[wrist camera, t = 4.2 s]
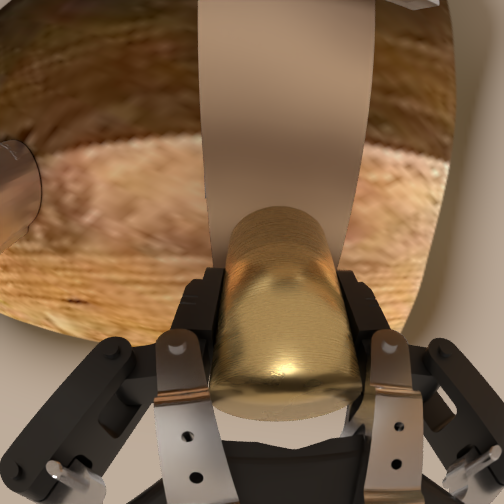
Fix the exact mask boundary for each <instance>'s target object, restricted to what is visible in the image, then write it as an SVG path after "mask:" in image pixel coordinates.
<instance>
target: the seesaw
mask: <svg viewBox="0 0 504 504" xmlns="http://www.w3.org/2000/svg"><path fill="white" fill-rule="evenodd" d="M386 1H389V2H392V3H395V4H398V5H401V6H404V7H406V8H409V9H412V10H417V9H422V8H428V7H433V6H439V0H386ZM374 39H375V0H198V61H199V91H200V113H201V131H202V147H203V161H204V174H205V187H206V198H207V209H208V220H209V230H210V240H211V249H212V258H213V267H214V268H225V266H226V259H227V253H228V246H229V240H230V236H231V234H232V231H233V230H234V228H235V226H236V225H237V224H238V223H239V222H240V221H241V220H242V219H243V218H244V217H246V216H247V215H248V214H250V213H252V212H254V211H256V210H259V209H262V208H266V207H271V206H288V207H293V208H297V209H299V210H302V211H304V212H306V213H308V214H309V215H311V216H312V217H313V218H314V219H316V220H317V221H318V223H319V224H320V225H321V227H322V229H323V231H324V233H325V236H326V239H327V243H328V246H329V249H330V253H331V256H332V260H333V263H334V267H335V270H337V267H338V263H339V259H340V256H341V252H342V248H343V244H344V240H345V236H346V232H347V228H348V223H349V219H350V215H351V210H352V205H353V201H354V196H355V191H356V186H357V181H358V176H359V170H360V165H361V159H362V153H363V147H364V141H365V134H366V127H367V120H368V112H369V103H370V94H371V84H372V72H373V58H374Z"/></svg>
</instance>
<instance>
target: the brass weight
mask: <svg viewBox="0 0 504 504" xmlns="http://www.w3.org/2000/svg"><path fill="white" fill-rule="evenodd" d="M208 389H209V393H210V398H211V402H212V405H213V406H214V407H216V408H217V409H219V410H220V411H222V412H225V413H227V414H230V415H233V416H236V417H240V418H245V419H251V420H259V421H294V420H302V419H308V418H313V417H318V416H322V415H325V414H328V413H331V412H334V411H336V410H339V409H341V408H343V407H345V406H347V405H349V404H350V403H351V402H353V401H355V400H356V399H357V398H358V397H359V395H360V394H361V392H362V382H361V376H360V371H359V366H358V361H357V356H356V351H355V347H354V342H353V337H352V333H351V329H350V324H349V320H348V316H347V312H346V308H345V304H344V300H343V296H342V292H341V288H340V285H339V281H338V277H337V274H336V270H335V267H334V263H333V260H332V256H331V253H330V249H329V246H328V243H327V239H326V236H325V233H324V231H323V229H322V227H321V225H320V224H319V223H318V221H317V220H316V219H314V218H313V217H312V216H311V215H309V214H308V213H306V212H304V211H302V210H299V209H297V208H293V207H288V206H271V207H266V208H262V209H259V210H256V211H254V212H252V213H250V214H248V215H247V216H246V217H244V218H243V219H242V220H241V221H240V222H239V223H238V224H237V225H236V226H235V228H234V230H233V231H232V234H231V236H230V240H229V246H228V253H227V259H226V266H225V272H224V279H223V286H222V292H221V299H220V306H219V313H218V320H217V327H216V335H215V342H214V349H213V357H212V364H211V372H210V381H209V388H208Z"/></svg>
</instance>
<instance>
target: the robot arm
mask: <svg viewBox="0 0 504 504" xmlns="http://www.w3.org/2000/svg"><path fill="white" fill-rule="evenodd" d="M40 201H41V184H40V177H39V172H38V168H37V165H36V163H35V160H34V158H33V156H32V154H31V152H30V151H29V150H28V148H27V147H26V146H25V145H24V144H23V143H21V142H20V141H17V140H8V141H5V142H2V143H0V254H1V253H3V252H4V251H5V250H6V249H7V248H9V247H10V246H11V245H12V244H14V243H15V242H16V241H17V240H19V239H20V238H21V237H22V236H24V235H25V234H26V233H27V232H28V225H29V224H30V223H31V222H32V221H33V220H34V219H35V217H36V216H37V214H38V210H39V207H40ZM224 272H225V268H210V267H207V268H206V271H205V274H204V277H203V279H193V280H192V281H191V282H190V283H189V284H188V285H187V286H186V288H185V290H184V293H183V297H182V298H181V301H180V304H179V306H178V309H177V312H176V315H175V317H174V320H173V323H172V326H171V329H170V330H168V331H166V332H164V333H163V334H162V335H160V336H159V338H158V339H157V341H156V343H154V344H151V345H146V346H138V347H131V344H130V343H129V341H127V340H126V339H124V338H122V337H110V338H107V339H104V340H102V341H101V342H100V343H99V344H98V345H97V346H96V347H95V348H94V349H93V350H92V351H91V352H90V353H89V354H88V355H87V356H86V358H85V359H84V360H83V361H82V362H81V363H80V364H79V365H78V366H77V367H76V369H75V370H74V371H73V372H72V373H71V374H70V375H69V376H68V377H67V379H66V380H65V381H64V382H63V383H62V384H61V385H60V386H59V388H58V389H57V390H56V391H55V392H54V393H53V395H52V396H51V397H50V398H49V399H48V401H47V402H46V403H45V404H44V405H43V406H42V407H41V409H40V410H39V411H38V412H37V414H36V415H35V416H34V417H33V418H32V420H31V421H30V422H29V423H28V424H27V426H26V427H25V428H24V429H23V431H22V432H21V433H20V434H19V436H18V437H17V438H16V440H15V441H14V442H13V443H12V445H11V446H10V448H9V449H8V450H7V451H6V453H5V454H4V455H3V457H2V458H1V461H0V474H1V478H2V480H3V482H4V483H5V485H6V486H7V487H8V488H9V489H10V490H12V491H14V492H16V493H18V494H20V495H22V496H24V497H26V498H27V499H29V500H31V501H33V502H35V503H36V504H103V500H104V498H105V495H106V486H105V483H104V481H103V479H102V478H101V477H102V476H103V475H104V473H105V472H106V470H107V468H108V467H109V466H110V464H111V463H112V461H113V460H114V458H115V457H116V455H117V454H118V452H119V451H120V449H121V448H122V446H123V445H124V443H125V442H126V440H127V439H128V437H129V436H130V434H131V433H132V432H133V430H134V429H135V427H136V426H137V424H138V423H139V421H140V420H141V418H142V416H143V415H144V414H145V412H146V411H147V409H148V408H149V406H150V405H151V403H154V413H155V425H156V434H157V443H158V451H159V458H160V465H161V471H162V478H161V479H160V480H158V481H157V482H156V483H155V484H153V485H152V486H151V487H149V488H148V489H146V490H145V491H144V492H142V493H141V494H140V495H138V496H137V497H135V498H134V499H133V500H131V501H130V502H128V503H127V504H490V503H491V502H492V501H493V500H494V499H495V498H496V497H497V495H498V494H499V493H500V492H501V490H502V489H503V488H504V402H503V401H502V400H501V399H500V397H499V396H498V395H497V393H496V392H495V391H494V390H493V388H492V387H491V386H490V385H489V384H488V382H486V380H485V379H484V378H483V376H482V375H480V373H479V372H478V371H477V369H476V368H475V367H474V366H473V365H472V363H471V362H470V361H469V360H468V359H467V358H466V357H465V356H464V354H463V353H462V352H461V351H459V349H458V348H457V347H456V346H455V345H454V344H453V343H452V342H450V341H449V340H447V339H444V338H436V339H433V340H432V341H431V342H430V344H429V345H428V347H427V348H426V347H420V346H413V345H409V344H408V342H407V340H406V339H405V337H404V336H403V335H402V334H400V333H399V332H397V331H394V330H391V329H390V326H389V324H388V322H387V320H386V318H385V316H384V314H383V312H382V310H381V308H380V306H379V304H378V302H377V300H375V296H374V294H373V292H372V290H371V289H370V288H369V287H368V286H367V285H366V284H364V283H363V282H357V280H356V277H355V275H354V273H353V272H352V271H350V270H336V274H337V277H338V281H339V285H340V288H341V292H342V296H343V300H344V304H345V308H346V312H347V316H348V320H349V324H350V329H351V333H352V337H353V342H354V347H355V351H356V356H357V361H358V366H359V371H360V376H361V382H362V392H361V394H360V395H359V397H358V398H357V399H356V400H355V401H353V402H351V403H350V404H349V405H347V412H346V418H345V424H344V428H343V431H342V433H341V436H340V438H332V439H328V440H325V441H323V442H320V443H317V444H313V445H310V446H307V447H303V448H300V449H287V448H282V447H277V446H272V445H267V444H263V443H259V442H240V441H239V442H237V441H224V440H221V438H220V434H219V431H218V427H217V423H216V419H215V415H214V410H213V406H212V402H211V398H210V393H209V389H208V381H209V375H210V372H211V364H212V357H213V349H214V342H215V335H216V327H217V320H218V313H219V306H220V299H221V292H222V286H223V279H224ZM440 386H441V387H442V388H443V390H444V391H445V392H446V394H447V395H448V396H449V398H450V399H451V400H452V401H453V403H454V404H455V406H456V408H457V414H456V415H455V414H454V413H453V412H452V411H451V410H450V408H449V407H448V406H447V404H446V403H445V402H444V401H443V399H442V398H441V396H440V395H439V394H438V392H437V390H438V388H439V387H440ZM423 435H424V436H425V438H426V439H427V441H428V442H429V444H430V445H431V447H432V448H433V450H434V451H435V453H436V455H437V456H438V458H439V459H440V461H441V463H442V464H443V466H444V467H445V469H446V470H447V474H446V477H445V478H444V479H443V482H442V483H443V486H444V488H447V489H448V488H449V492H447V491H446V490H444V489H443V488H441V487H440V486H439V485H437V484H436V483H434V482H433V481H432V480H430V479H429V478H428V477H426V476H425V475H423V474H422V465H423Z"/></svg>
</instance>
